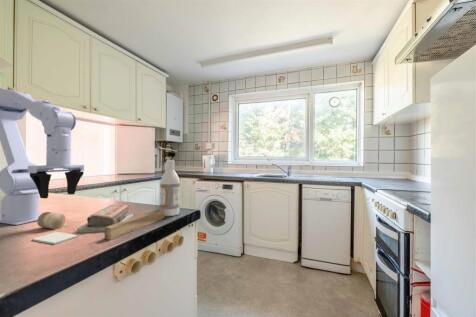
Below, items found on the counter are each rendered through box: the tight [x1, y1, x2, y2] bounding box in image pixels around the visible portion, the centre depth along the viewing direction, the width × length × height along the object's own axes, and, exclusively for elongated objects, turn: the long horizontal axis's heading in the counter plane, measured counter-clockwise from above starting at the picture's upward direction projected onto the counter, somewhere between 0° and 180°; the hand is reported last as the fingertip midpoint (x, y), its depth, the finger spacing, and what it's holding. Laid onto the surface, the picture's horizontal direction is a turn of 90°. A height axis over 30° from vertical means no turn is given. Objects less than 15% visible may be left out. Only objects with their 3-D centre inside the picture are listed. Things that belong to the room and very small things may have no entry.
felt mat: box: [31, 231, 79, 245], centre depth 57 cm, size 8×6×1 cm
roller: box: [36, 211, 66, 230], centre depth 66 cm, size 5×4×4 cm
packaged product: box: [76, 204, 135, 233], centre depth 72 cm, size 18×5×10 cm
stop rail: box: [104, 208, 165, 241], centre depth 68 cm, size 2×22×3 cm, turn 162°
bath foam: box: [159, 159, 181, 217], centre depth 84 cm, size 7×7×20 cm
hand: (58, 196), depth 68 cm, fingers open, 7 cm apart
